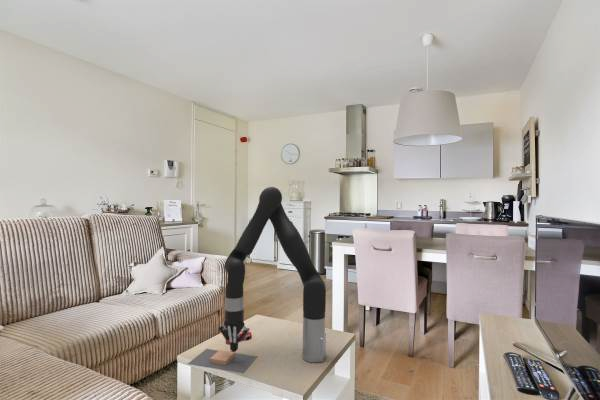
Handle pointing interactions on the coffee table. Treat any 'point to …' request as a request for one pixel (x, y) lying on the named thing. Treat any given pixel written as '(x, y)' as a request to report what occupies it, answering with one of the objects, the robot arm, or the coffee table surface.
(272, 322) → the coffee table surface
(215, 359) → the tile
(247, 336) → the race car
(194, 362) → the mat
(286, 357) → the coffee table surface
